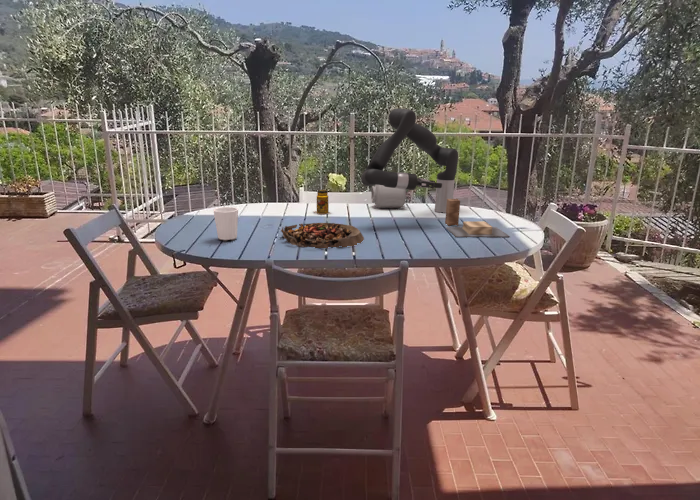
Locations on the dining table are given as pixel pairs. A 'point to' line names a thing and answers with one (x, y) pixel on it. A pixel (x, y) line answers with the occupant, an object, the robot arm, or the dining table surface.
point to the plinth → (476, 230)
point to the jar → (387, 197)
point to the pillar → (452, 212)
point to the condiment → (322, 202)
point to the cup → (226, 223)
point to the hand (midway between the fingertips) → (438, 184)
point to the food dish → (322, 235)
